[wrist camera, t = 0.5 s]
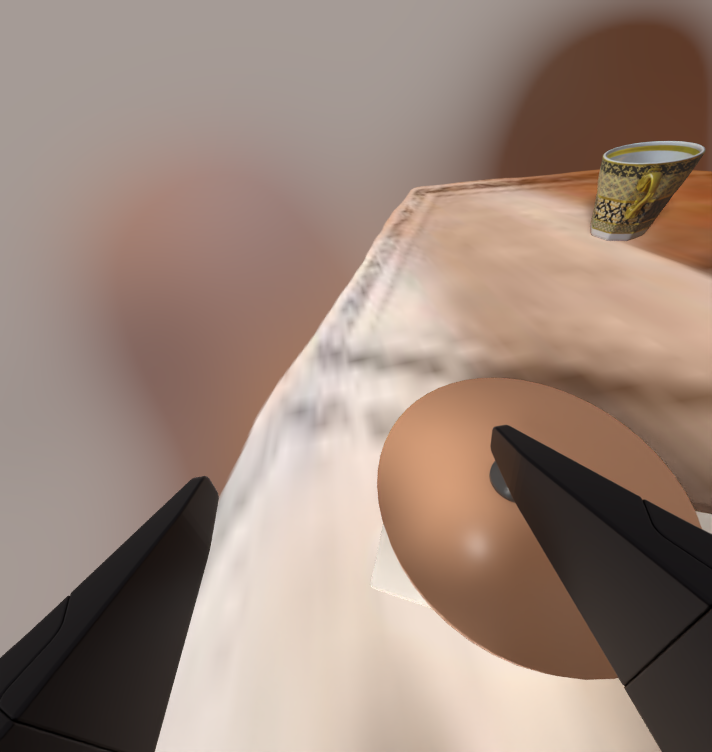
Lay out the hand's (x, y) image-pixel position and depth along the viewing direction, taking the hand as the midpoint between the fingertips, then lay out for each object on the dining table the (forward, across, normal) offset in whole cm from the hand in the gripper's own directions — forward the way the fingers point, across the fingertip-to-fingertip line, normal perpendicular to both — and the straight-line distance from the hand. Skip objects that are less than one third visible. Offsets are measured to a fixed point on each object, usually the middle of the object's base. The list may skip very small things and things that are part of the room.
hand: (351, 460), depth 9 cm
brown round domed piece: (+3, -7, +10) cm, 13 cm away
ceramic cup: (+39, -43, +4) cm, 58 cm away
